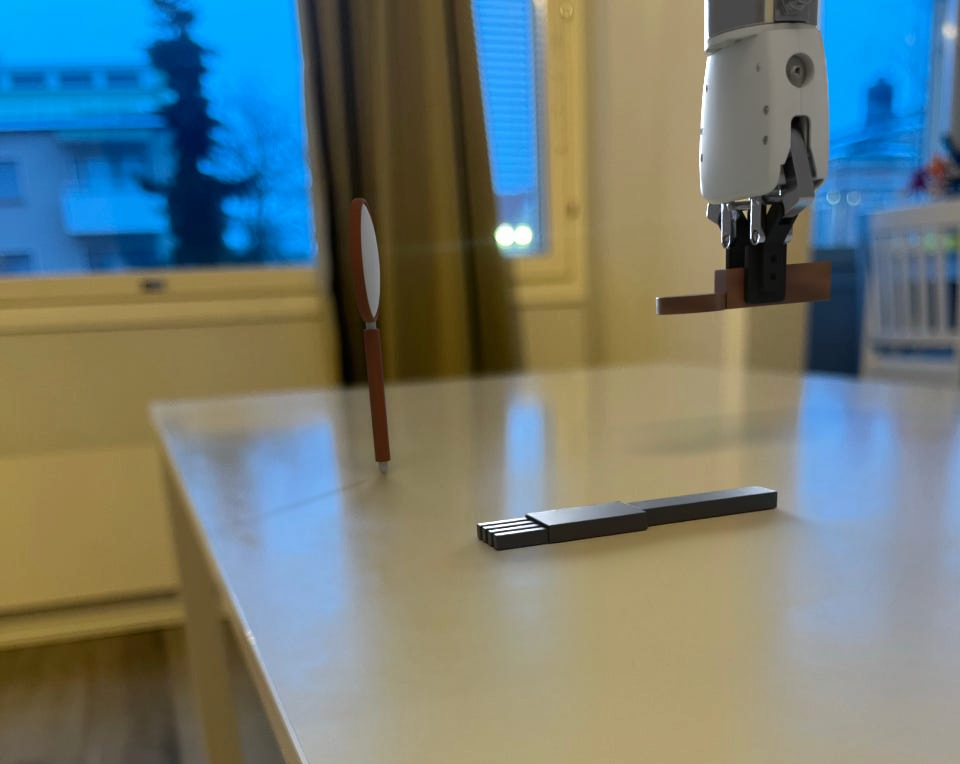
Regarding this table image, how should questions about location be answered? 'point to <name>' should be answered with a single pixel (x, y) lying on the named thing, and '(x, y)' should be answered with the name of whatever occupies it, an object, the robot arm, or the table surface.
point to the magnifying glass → (369, 318)
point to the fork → (620, 517)
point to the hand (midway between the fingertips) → (754, 301)
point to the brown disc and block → (729, 290)
